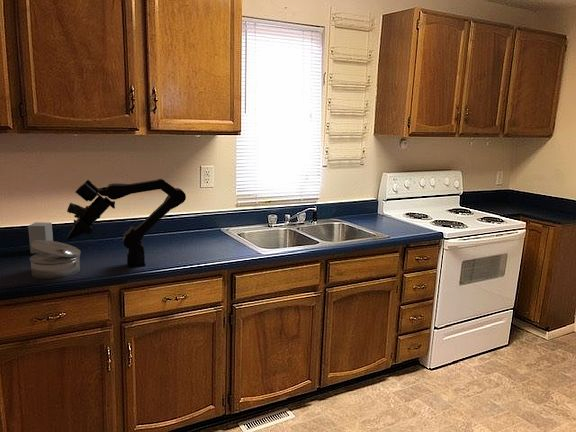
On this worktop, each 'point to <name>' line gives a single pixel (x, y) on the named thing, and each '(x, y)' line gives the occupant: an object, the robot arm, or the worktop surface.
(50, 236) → the supplement box
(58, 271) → the cooker pot
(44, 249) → the lid
